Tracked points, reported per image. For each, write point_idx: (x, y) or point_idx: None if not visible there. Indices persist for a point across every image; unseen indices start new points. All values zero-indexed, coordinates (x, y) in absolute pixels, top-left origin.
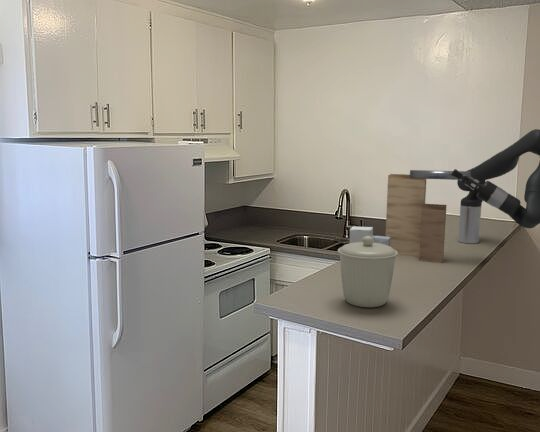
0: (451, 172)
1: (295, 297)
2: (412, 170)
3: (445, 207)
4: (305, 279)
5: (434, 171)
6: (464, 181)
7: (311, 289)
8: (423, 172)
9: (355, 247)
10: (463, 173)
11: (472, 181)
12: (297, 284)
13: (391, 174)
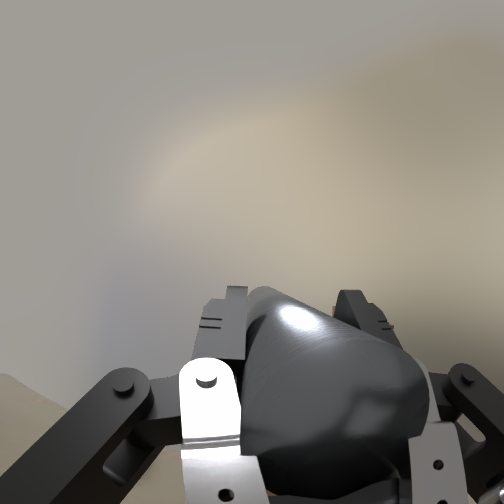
0: (257, 312)
1: (5, 389)
2: (258, 287)
3: None
4: (63, 407)
5: (259, 295)
6: (131, 443)
7: (23, 402)
8: (250, 297)
9: None
10: (253, 347)
11: (15, 469)
12: (46, 399)
13: (334, 307)
